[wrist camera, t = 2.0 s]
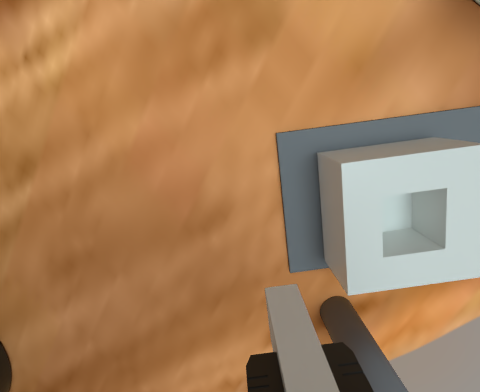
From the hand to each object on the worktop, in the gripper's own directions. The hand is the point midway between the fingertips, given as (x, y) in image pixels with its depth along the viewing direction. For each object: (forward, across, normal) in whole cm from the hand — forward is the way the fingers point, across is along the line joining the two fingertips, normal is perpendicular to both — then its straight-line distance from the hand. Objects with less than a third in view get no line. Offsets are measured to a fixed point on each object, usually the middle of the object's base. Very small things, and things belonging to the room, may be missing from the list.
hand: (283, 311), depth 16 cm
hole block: (+15, +11, 0) cm, 18 cm away
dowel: (+15, +7, -11) cm, 20 cm away
